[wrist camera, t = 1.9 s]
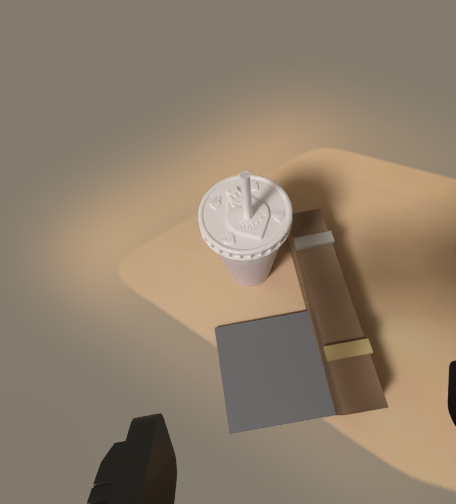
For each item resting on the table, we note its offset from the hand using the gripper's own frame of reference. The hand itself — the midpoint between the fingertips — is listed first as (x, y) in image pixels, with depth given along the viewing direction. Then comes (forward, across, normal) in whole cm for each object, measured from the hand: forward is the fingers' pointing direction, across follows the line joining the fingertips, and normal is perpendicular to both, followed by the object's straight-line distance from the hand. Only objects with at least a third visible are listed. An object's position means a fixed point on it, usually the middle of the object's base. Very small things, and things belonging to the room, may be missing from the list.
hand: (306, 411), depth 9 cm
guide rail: (+18, -6, +8) cm, 20 cm away
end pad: (+15, 0, +10) cm, 18 cm away
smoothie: (+21, 0, +4) cm, 22 cm away
